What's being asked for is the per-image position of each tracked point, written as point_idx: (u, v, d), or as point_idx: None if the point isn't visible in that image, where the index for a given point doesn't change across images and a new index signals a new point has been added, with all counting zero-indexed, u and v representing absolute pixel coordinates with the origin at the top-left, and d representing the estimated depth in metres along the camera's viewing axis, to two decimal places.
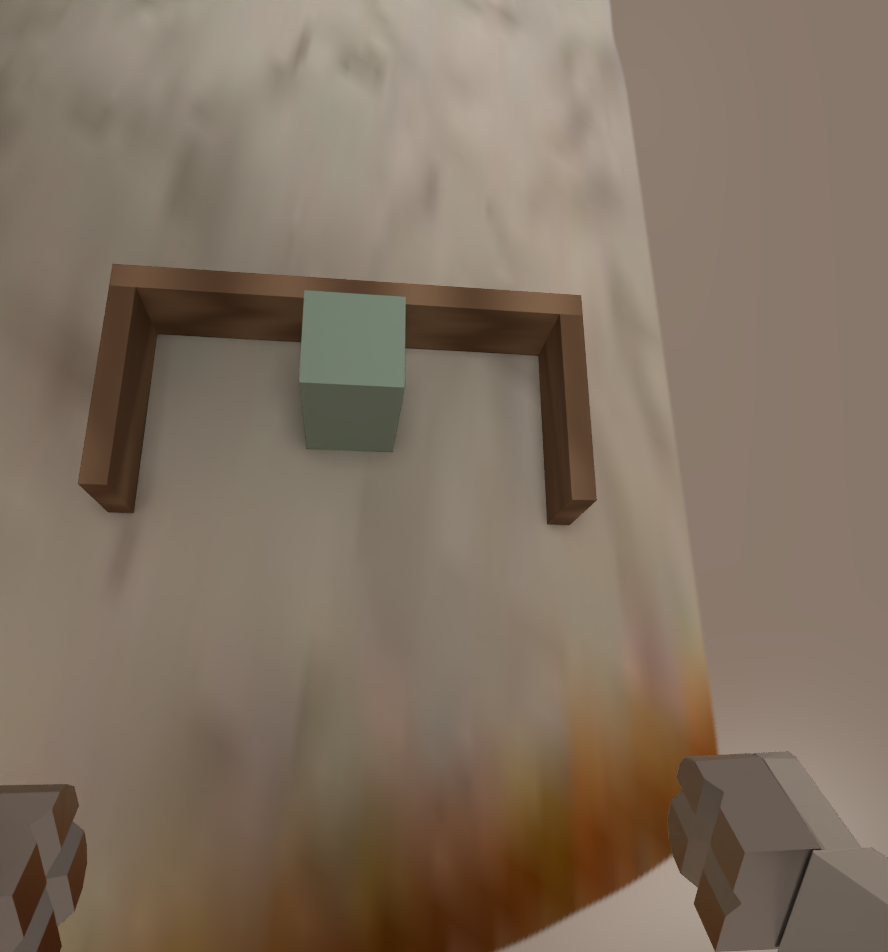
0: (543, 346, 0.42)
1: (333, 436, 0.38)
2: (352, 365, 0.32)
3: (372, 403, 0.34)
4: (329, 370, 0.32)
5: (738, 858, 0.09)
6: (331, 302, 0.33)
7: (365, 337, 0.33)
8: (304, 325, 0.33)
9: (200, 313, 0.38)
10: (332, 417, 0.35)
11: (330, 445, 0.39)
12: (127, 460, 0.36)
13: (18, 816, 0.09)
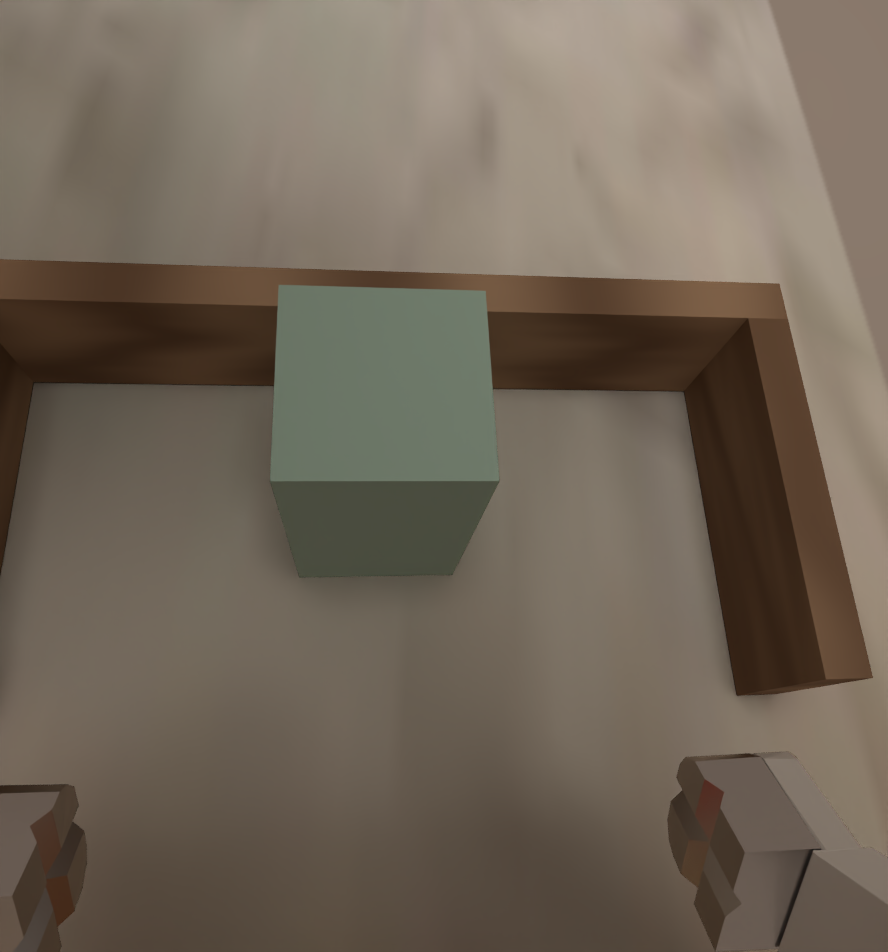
0: (698, 376, 0.24)
1: (347, 560, 0.20)
2: (386, 437, 0.15)
3: (425, 511, 0.17)
4: (337, 450, 0.15)
5: (738, 858, 0.09)
6: (335, 306, 0.16)
7: (410, 375, 0.16)
8: (280, 356, 0.15)
9: (99, 342, 0.21)
10: (344, 533, 0.18)
11: (342, 570, 0.21)
12: None
13: (18, 816, 0.09)
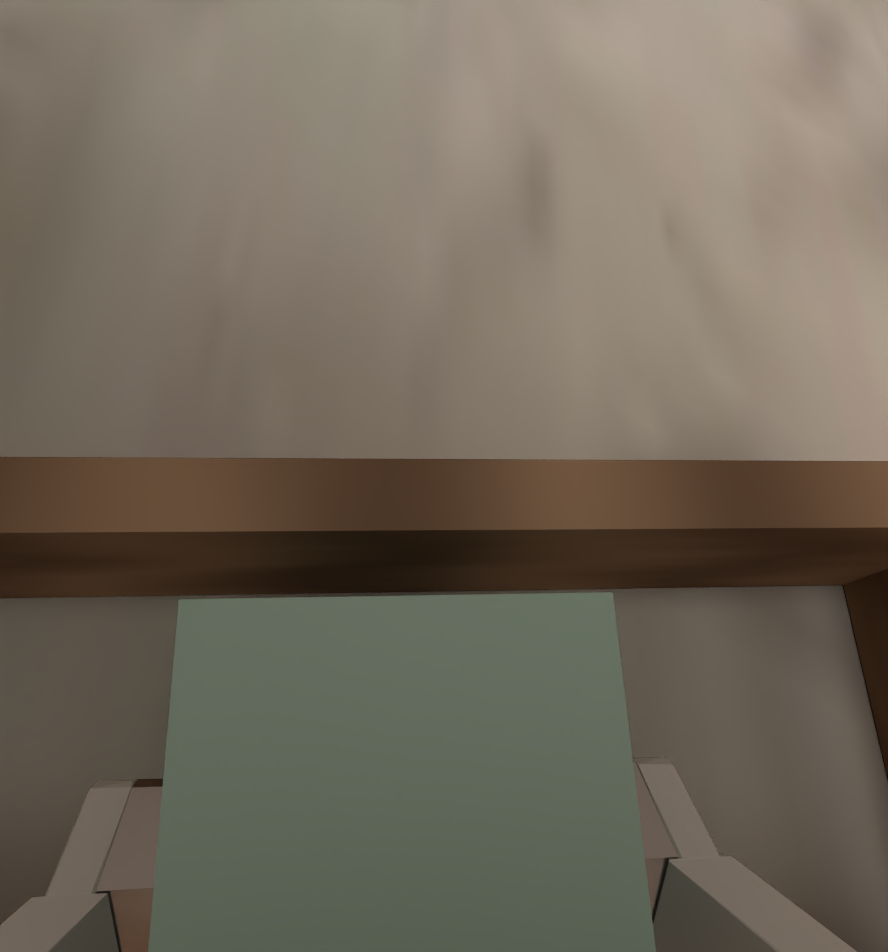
0: (876, 575, 0.16)
1: None
2: None
3: None
4: None
5: None
6: (299, 648, 0.07)
7: (463, 821, 0.07)
8: (173, 787, 0.07)
9: None
10: None
11: None
12: None
13: None
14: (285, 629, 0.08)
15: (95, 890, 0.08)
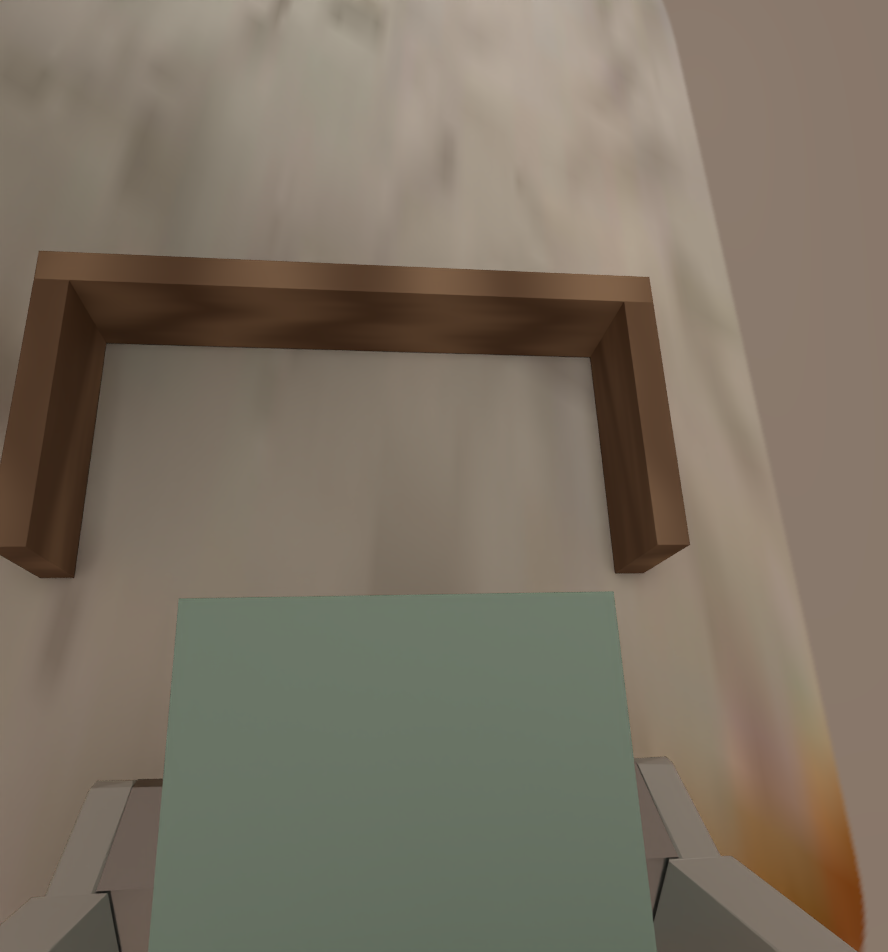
0: (598, 345, 0.33)
1: None
2: None
3: None
4: None
5: None
6: (299, 647, 0.07)
7: (464, 820, 0.07)
8: (173, 786, 0.07)
9: (158, 313, 0.30)
10: None
11: None
12: (61, 510, 0.27)
13: None
14: (285, 628, 0.08)
15: (95, 890, 0.08)
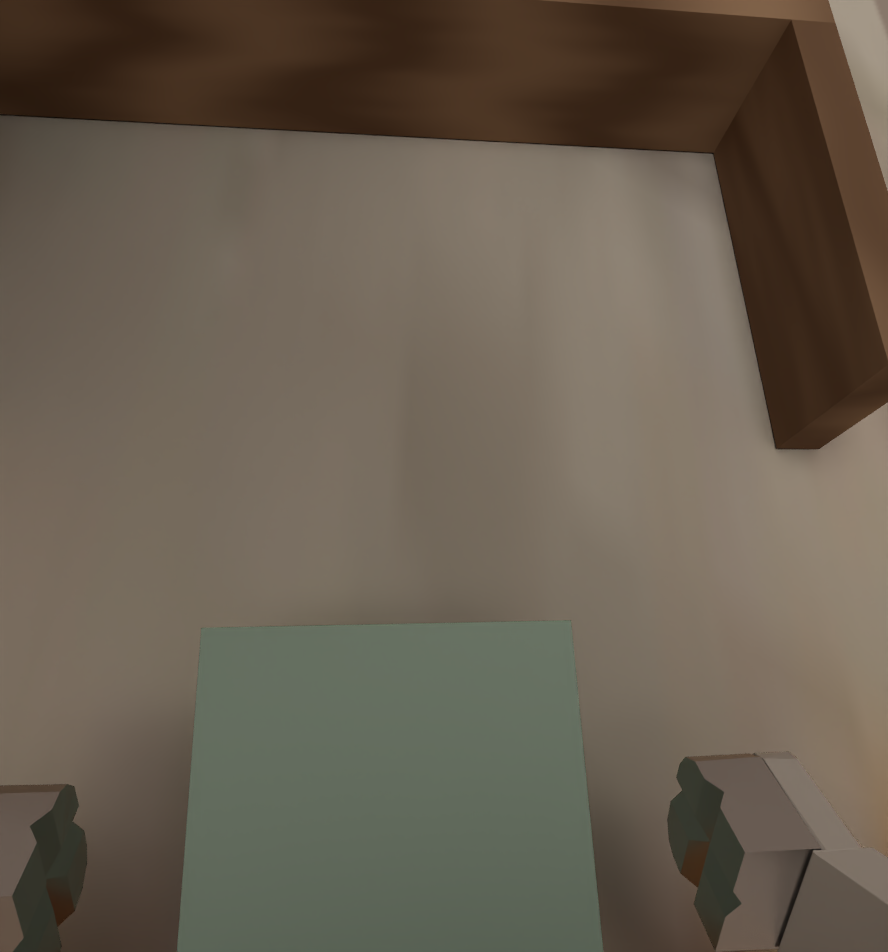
0: (730, 125, 0.22)
1: None
2: None
3: None
4: None
5: (738, 858, 0.09)
6: (303, 670, 0.09)
7: (440, 816, 0.08)
8: (198, 787, 0.08)
9: (66, 42, 0.19)
10: None
11: None
12: None
13: (18, 816, 0.09)
14: (291, 653, 0.09)
15: None
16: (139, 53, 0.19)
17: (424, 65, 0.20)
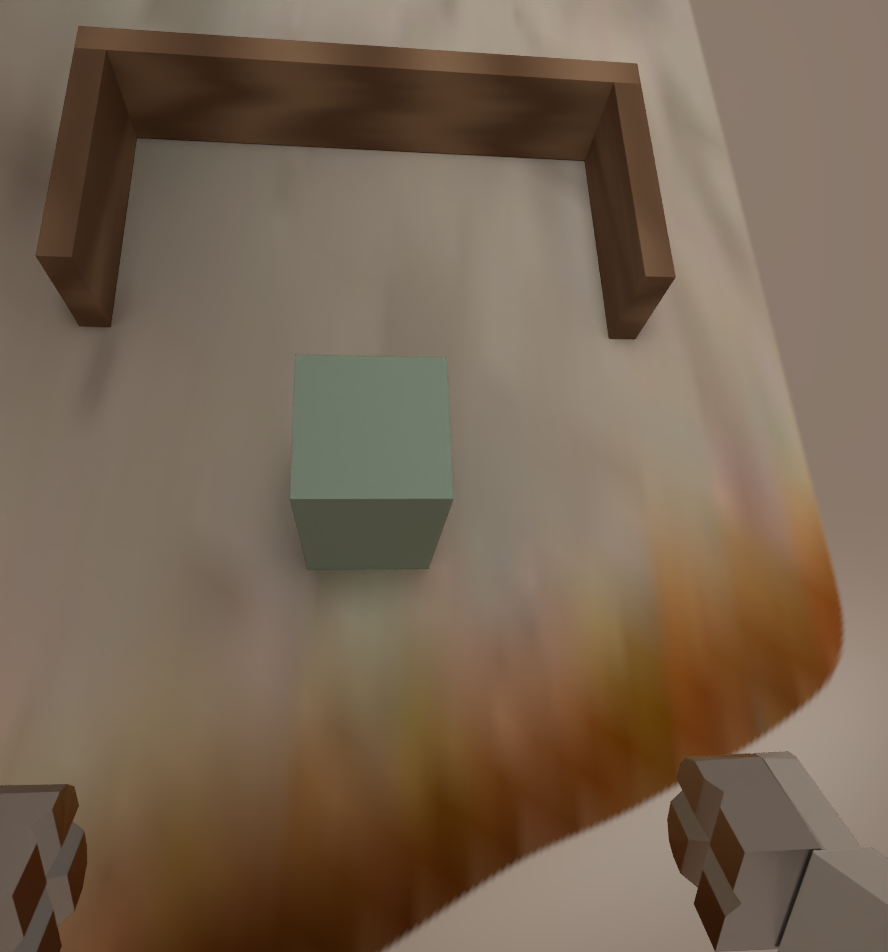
0: (591, 143, 0.35)
1: (345, 556, 0.26)
2: (372, 467, 0.21)
3: (402, 519, 0.23)
4: (337, 476, 0.21)
5: (738, 858, 0.09)
6: (336, 370, 0.22)
7: (390, 421, 0.22)
8: (296, 408, 0.21)
9: (186, 96, 0.32)
10: (342, 536, 0.24)
11: (341, 564, 0.27)
12: (100, 253, 0.29)
13: (18, 816, 0.09)
14: (331, 365, 0.22)
15: None
16: (227, 102, 0.33)
17: (397, 108, 0.33)
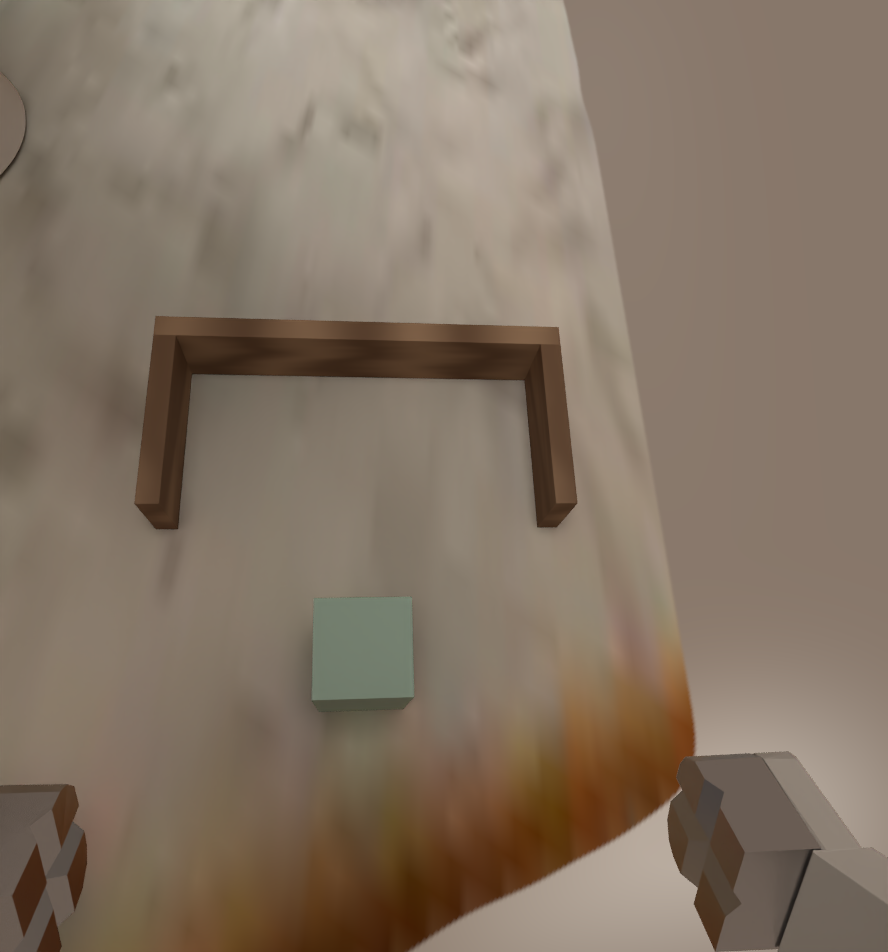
0: (528, 372, 0.48)
1: (345, 708, 0.39)
2: (363, 676, 0.33)
3: (382, 701, 0.35)
4: (341, 684, 0.33)
5: (738, 858, 0.09)
6: (340, 609, 0.34)
7: (374, 644, 0.34)
8: (315, 636, 0.34)
9: (230, 354, 0.44)
10: (343, 705, 0.36)
11: (342, 710, 0.40)
12: (172, 483, 0.42)
13: (18, 816, 0.09)
14: (337, 604, 0.34)
15: None
16: (260, 356, 0.45)
17: (383, 358, 0.45)
